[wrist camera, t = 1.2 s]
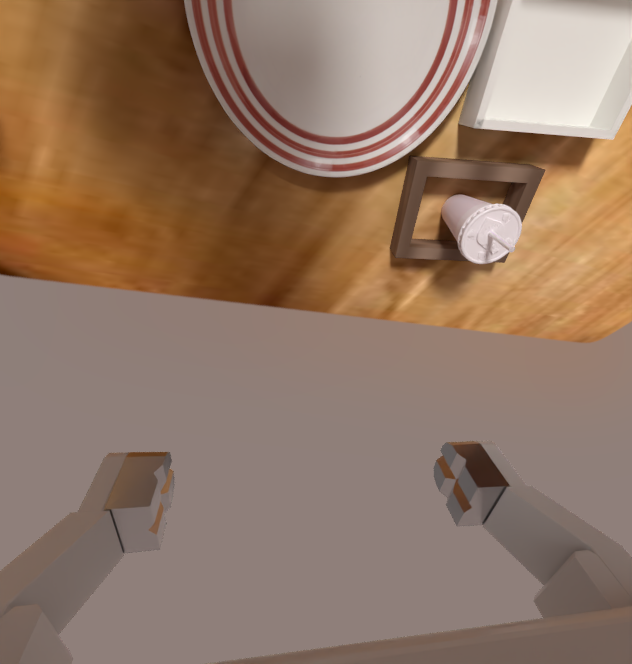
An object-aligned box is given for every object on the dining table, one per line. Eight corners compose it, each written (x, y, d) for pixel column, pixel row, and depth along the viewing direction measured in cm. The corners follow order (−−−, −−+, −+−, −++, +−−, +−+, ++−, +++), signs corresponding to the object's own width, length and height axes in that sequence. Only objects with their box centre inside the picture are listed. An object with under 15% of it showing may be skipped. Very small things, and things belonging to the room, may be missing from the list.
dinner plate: (492, 118, 38) (507, 121, 35) (267, 206, 42) (266, 214, 39) (480, -353, 22) (506, -414, 19) (119, -135, 26) (100, -159, 23)
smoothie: (474, 172, 41) (543, 207, 30) (486, 217, 44) (552, 264, 33) (424, 200, 42) (472, 243, 31) (439, 241, 46) (487, 294, 35)
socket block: (389, 248, 46) (395, 257, 44) (409, 155, 39) (417, 160, 37) (493, 253, 47) (504, 262, 45) (530, 164, 41) (545, 169, 38)
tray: (458, 123, 38) (473, 128, 34) (508, -58, 30) (534, -74, 26) (586, 134, 39) (613, 139, 36) (668, -36, 31) (712, -49, 28)
